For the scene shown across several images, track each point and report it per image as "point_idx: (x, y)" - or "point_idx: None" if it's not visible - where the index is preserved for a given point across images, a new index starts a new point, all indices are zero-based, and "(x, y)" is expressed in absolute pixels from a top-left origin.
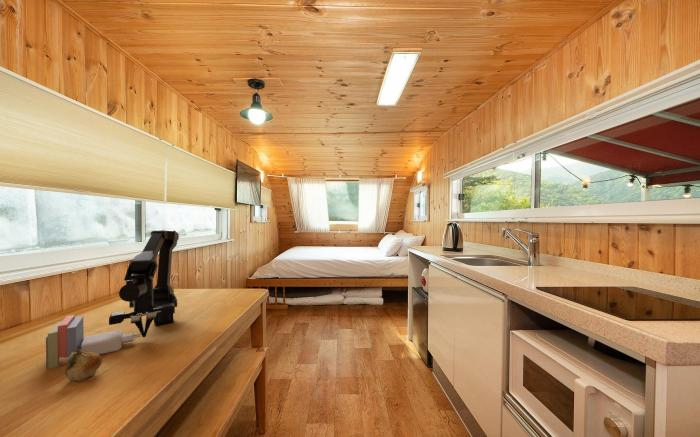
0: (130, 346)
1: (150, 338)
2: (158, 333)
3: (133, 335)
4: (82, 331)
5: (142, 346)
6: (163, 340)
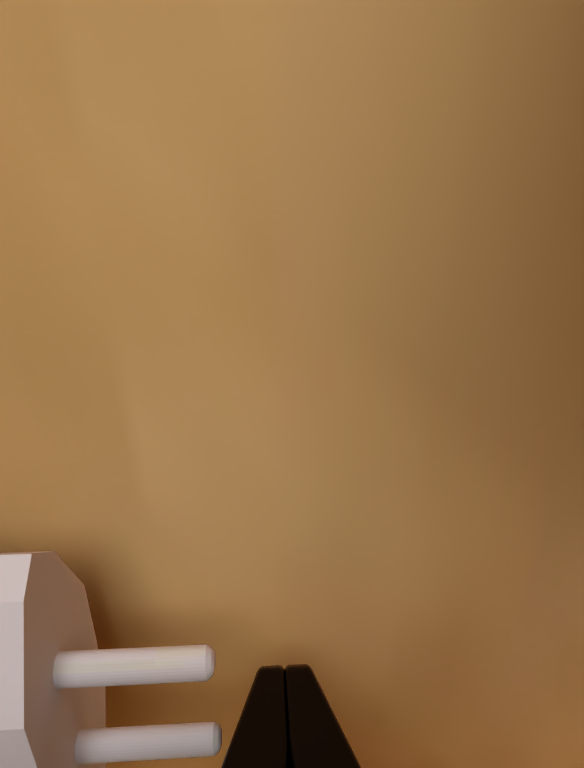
0: None
1: (380, 541)
2: (560, 350)
3: (60, 689)
4: None
5: None
6: (527, 709)
